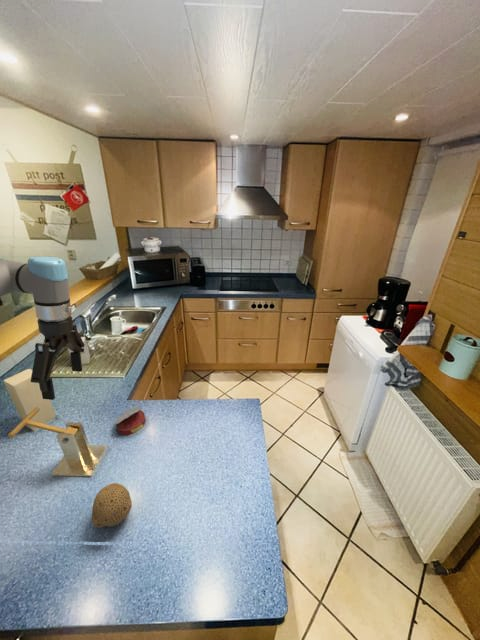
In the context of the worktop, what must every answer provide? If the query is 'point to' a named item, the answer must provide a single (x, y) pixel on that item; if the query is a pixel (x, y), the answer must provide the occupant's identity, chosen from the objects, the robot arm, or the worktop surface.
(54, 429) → the lever
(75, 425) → the bracket
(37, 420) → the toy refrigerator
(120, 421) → the canned food
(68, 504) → the worktop surface
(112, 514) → the natural sponge
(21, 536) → the worktop surface
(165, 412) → the worktop surface
